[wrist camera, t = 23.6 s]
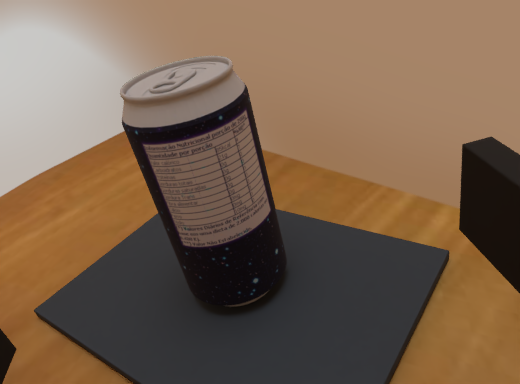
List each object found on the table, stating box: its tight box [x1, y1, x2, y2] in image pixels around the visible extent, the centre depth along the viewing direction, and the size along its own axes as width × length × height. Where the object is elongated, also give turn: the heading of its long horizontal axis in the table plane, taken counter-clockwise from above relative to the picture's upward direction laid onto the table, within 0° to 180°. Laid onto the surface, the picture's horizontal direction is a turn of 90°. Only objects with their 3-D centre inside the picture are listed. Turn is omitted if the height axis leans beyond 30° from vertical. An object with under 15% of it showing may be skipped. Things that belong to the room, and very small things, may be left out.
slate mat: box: [34, 209, 449, 384], centre depth 25 cm, size 20×14×1 cm
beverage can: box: [120, 56, 287, 307], centre depth 21 cm, size 6×6×12 cm
